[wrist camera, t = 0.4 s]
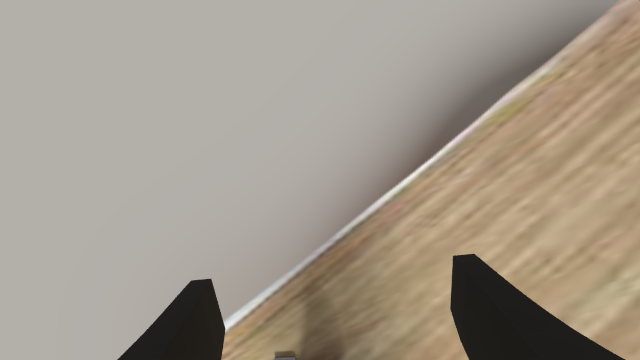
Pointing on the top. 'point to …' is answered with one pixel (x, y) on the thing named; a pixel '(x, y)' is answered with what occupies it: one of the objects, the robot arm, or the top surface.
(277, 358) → the grey block
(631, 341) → the top surface
